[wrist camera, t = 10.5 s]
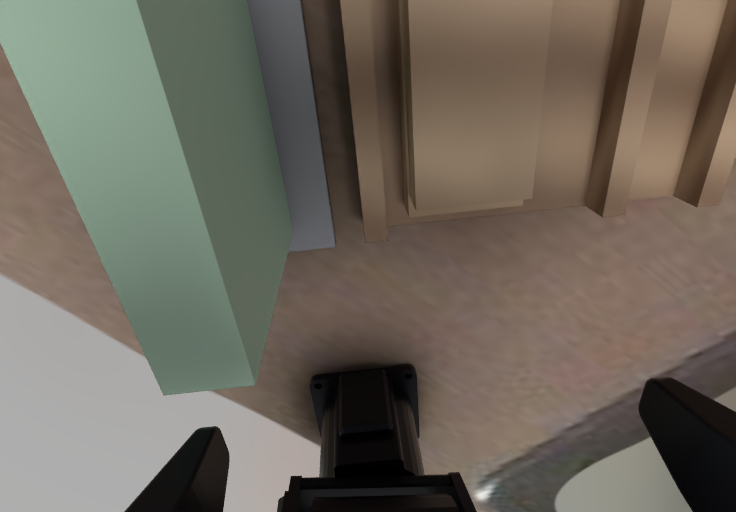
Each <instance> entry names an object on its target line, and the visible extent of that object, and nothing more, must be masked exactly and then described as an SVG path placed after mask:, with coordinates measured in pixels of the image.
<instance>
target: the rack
mask: <svg viewBox="0 0 736 512" xmlns="http://www.w3.org/2000/svg"><path fill="white" fill-rule="evenodd" d="M340 7H341V16H342V26H343V35H344V45H345V54H346V64H347V73H348V83H349V92H350V102H351V111H352V121H353V130H354V140H355V149H356V159H357V168H358V178H359V187H360V197H361V206H362V216H363V225H364V233H365V242H366V243H369V242H378V241H388V236H387V226H397V225H406V224H415V223H425V222H434V221H443V220H453V219H462V218H472V217H481V216H490V215H500V214H509V213H518V212H528V211H537V210H546V209H556V208H565V207H574V206H584V205H585V206H587V207H588V208H590V209H591V210H592V211H594V212H595V213H597V214H598V215H600V216H601V217H612V216H621V215H625V211H626V206H627V202H628V201H630V200H640V199H649V198H658V197H668V196H675V197H677V198H679V199H681V200H683V201H685V202H687V203H689V204H691V205H693V206H695V207H705V206H714V205H719V204H720V201H721V198H722V195H723V192H724V189H725V186H726V183H727V180H728V177H729V174H730V171H731V168H732V165H733V162H734V159H735V156H736V0H553V5H552V14H551V24H550V33H549V43H548V52H547V62H546V71H545V81H544V90H543V100H542V109H541V119H540V128H539V138H538V147H537V157H536V166H535V175H534V185H533V194H532V199H525V200H523V205H522V206H513V207H503V208H494V209H485V210H475V211H466V212H456V213H447V214H438V215H428V216H419V217H410V218H409V216H408V213H407V211H406V208H405V205H404V187H403V168H402V148H401V129H400V110H399V90H398V71H397V52H396V33H395V13H394V0H340Z"/></svg>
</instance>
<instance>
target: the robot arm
mask: <svg viewBox="0 0 736 512" xmlns="http://www.w3.org/2000/svg"><path fill="white" fill-rule="evenodd" d="M407 373H410V374H408V375H406V374H407ZM316 383H320V384H316ZM310 389H311V394H312V398H313V403H314V408H315V412H316V417H317V421H318V426H319V431H320V435H321V456H320V475H319V478H318V477H316V478H302V476H291V479H290V485H289V491H285V495H284V496H283V497H282V498H280V499H279V501H278V509H277V512H477V511H476V509H475V507H474V505H473V502H472V500H471V498H470V496H469V493H468V491H467V489H466V486H465V484H464V482H463V480H462V477H461V475H460V473H459V472H453V473H448V475H425V474H424V469H423V464H422V458H421V453H420V448H419V443H418V438H419V416H418V394H417V375H416V370H415V368H414V367H413V366H408V365H407V366H398V367H389V368H380V369H370V370H361V371H352V372H343V373H334V374H325V375H317V376H314V377H312V378H311V381H310ZM639 414H640V416H641V419H642V421H643V423H644V424H645V426H646V428H647V430H648V432H649V434H650V436H651V438H652V440H653V442H654V444H655V445H656V447H657V449H658V451H659V453H660V455H661V457H662V459H663V461H664V462H665V464H666V466H667V468H668V470H669V472H670V474H671V476H672V478H673V480H674V481H675V483H676V485H677V487H678V489H679V490H680V492H681V493H682V495H683V497H684V498H685V500H686V502H687V503H688V504H689V506H690V508H691V509H692V511H693V512H736V412H735V411H733V410H731V409H729V408H727V407H726V406H724V405H722V404H720V403H718V402H716V401H714V400H713V399H711V398H709V397H707V396H705V395H703V394H701V393H700V392H698V391H696V390H694V389H692V388H690V387H688V386H687V385H685V384H683V383H681V382H679V381H677V380H675V379H673V378H671V377H658V378H651V379H649V380H647V381H646V383H645V386H644V390H643V393H642V396H641V399H640V402H639ZM228 469H229V451H228V448H227V446H226V443H225V441H224V438H223V435H222V433H221V430H220V429H219V428H218V427H216V426H214V427H204V428H200V429H197V430H196V431H195V432H194V433H193V434H192V435H191V436H190V438H189V439H188V440H187V441H186V442H185V443H184V445H182V447H181V448H180V449H179V450H178V451H177V452H176V453H175V455H174V456H173V457H172V458H171V459H170V460H169V462H168V463H167V464H166V465H165V466H164V467H163V468H162V469H161V471H160V472H159V473H158V474H157V475H156V476H155V477H154V479H153V480H152V481H151V482H150V483H149V484H148V486H147V487H146V488H145V489H144V490H143V491H142V492H141V493H140V495H139V496H138V497H137V498H136V499H135V500H134V501H133V502H132V504H131V505H130V506H129V507H128V508H127V509H126V510H125V512H223V507H224V499H225V492H226V484H227V476H228Z"/></svg>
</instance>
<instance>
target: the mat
mask: <svg viewBox="0 0 736 512" xmlns="http://www.w3.org/2000/svg"><path fill="white" fill-rule="evenodd" d="M247 2H248V7H249V12H250V17H251V22H252V27H253V32H254V37H255V42H256V47H257V52H258V57H259V62H260V67H261V72H262V77H263V82H264V87H265V92H266V97H267V102H268V107H269V112H270V117H271V122H272V127H273V132H274V137H275V142H276V147H277V152H278V157H279V162H280V167H281V172H282V177H283V182H284V187H285V192H286V197H287V202H288V207H289V212H290V217H291V222H292V227H293V234H292V239H291V243H290V247H289V251H288V252H294V251H303V250H313V249H322V248H331V247H336V240H335V233H334V226H333V219H332V212H331V205H330V198H329V191H328V184H327V177H326V170H325V163H324V156H323V149H322V142H321V135H320V128H319V121H318V114H317V107H316V100H315V93H314V86H313V79H312V72H311V65H310V58H309V51H308V44H307V37H306V30H305V24H304V17H303V10H302V3H301V0H247Z"/></svg>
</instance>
